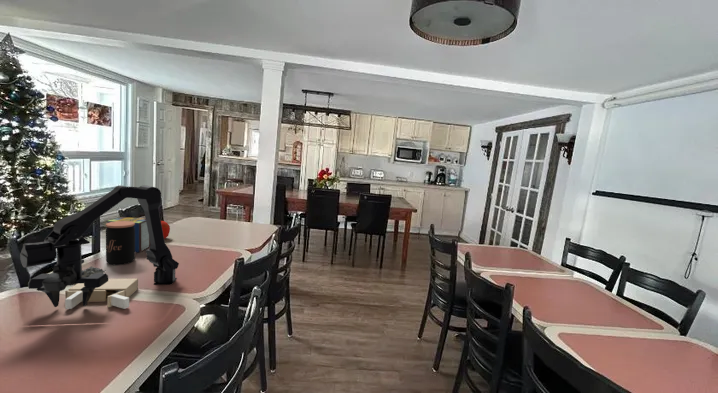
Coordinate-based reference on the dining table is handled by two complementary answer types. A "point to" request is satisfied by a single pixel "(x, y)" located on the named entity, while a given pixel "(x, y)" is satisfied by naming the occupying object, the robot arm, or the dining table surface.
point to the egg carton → (91, 271)
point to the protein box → (138, 232)
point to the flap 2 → (118, 300)
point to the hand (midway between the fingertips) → (70, 306)
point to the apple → (165, 229)
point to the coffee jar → (120, 242)
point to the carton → (109, 288)
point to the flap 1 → (73, 298)
